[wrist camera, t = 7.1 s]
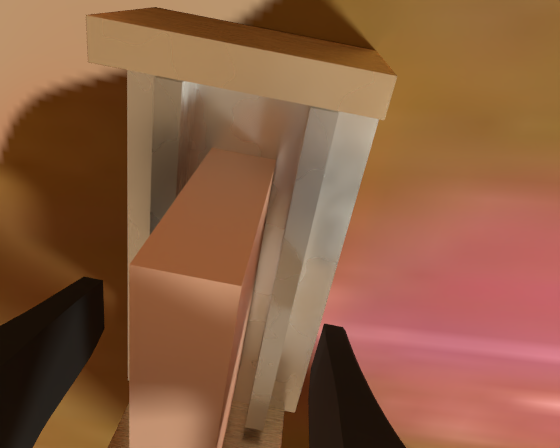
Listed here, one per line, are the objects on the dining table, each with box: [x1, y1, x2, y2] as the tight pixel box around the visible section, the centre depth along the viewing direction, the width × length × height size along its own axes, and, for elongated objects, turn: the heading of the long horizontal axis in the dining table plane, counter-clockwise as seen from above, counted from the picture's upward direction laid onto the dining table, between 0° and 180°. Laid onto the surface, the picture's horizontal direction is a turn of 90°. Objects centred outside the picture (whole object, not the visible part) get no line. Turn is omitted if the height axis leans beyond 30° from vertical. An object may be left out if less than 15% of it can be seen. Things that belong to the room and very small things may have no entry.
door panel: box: [129, 148, 277, 448], centre depth 14 cm, size 10×2×7 cm, turn 170°
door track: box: [86, 7, 397, 448], centre depth 16 cm, size 17×8×4 cm, turn 170°
